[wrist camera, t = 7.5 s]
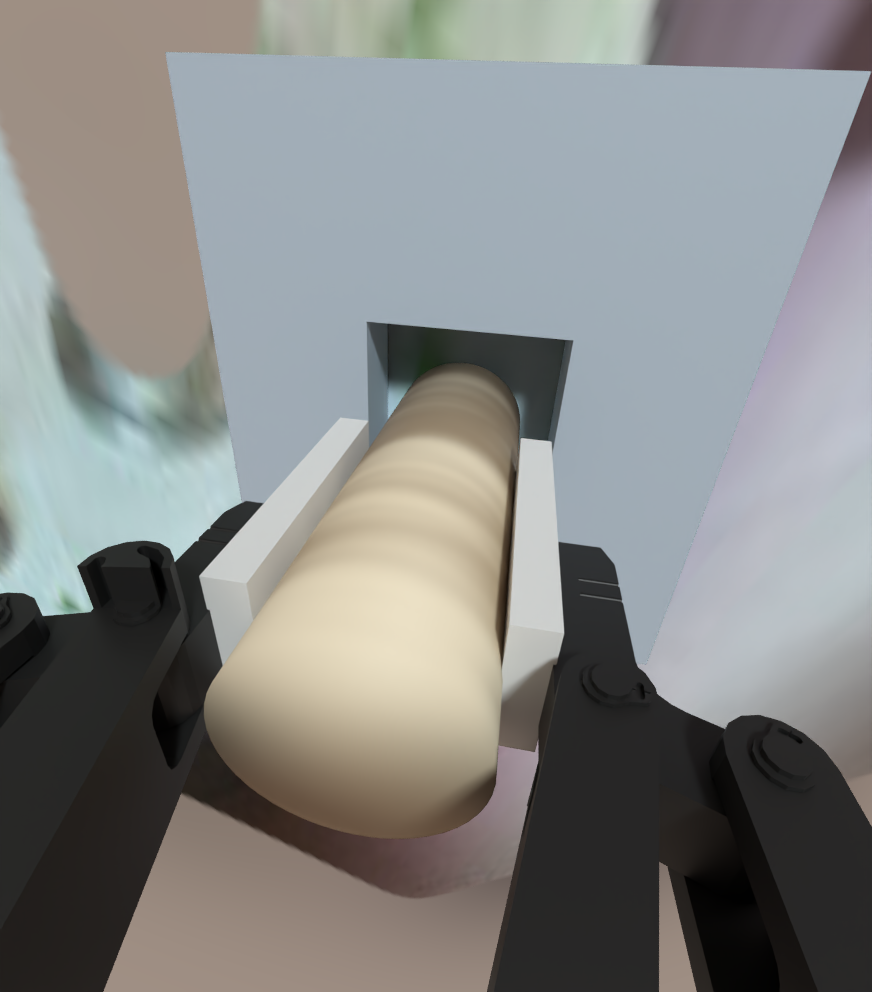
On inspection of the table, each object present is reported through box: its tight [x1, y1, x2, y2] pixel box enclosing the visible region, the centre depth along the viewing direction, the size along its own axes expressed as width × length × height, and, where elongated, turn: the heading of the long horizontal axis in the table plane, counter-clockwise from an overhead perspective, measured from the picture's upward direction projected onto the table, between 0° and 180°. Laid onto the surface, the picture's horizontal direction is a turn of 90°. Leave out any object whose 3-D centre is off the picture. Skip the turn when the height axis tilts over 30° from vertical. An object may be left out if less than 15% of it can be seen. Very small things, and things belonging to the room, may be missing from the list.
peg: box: [204, 363, 520, 839], centre depth 12 cm, size 4×4×12 cm
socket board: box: [166, 52, 871, 665], centre depth 17 cm, size 18×16×2 cm
